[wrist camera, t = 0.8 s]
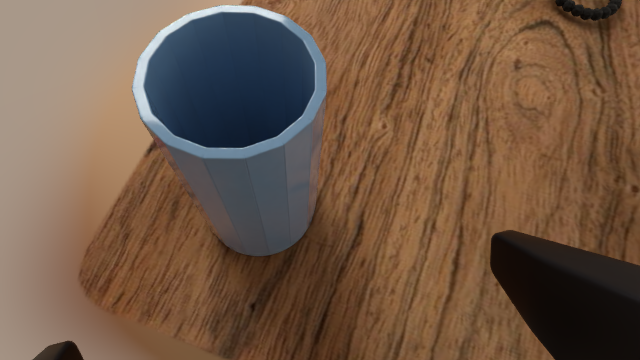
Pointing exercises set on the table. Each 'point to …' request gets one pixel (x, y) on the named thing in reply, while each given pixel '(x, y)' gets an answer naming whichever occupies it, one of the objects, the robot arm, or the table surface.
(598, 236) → the table surface
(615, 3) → the bracelet
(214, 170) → the blue hollow cylinder
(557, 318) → the robot arm
